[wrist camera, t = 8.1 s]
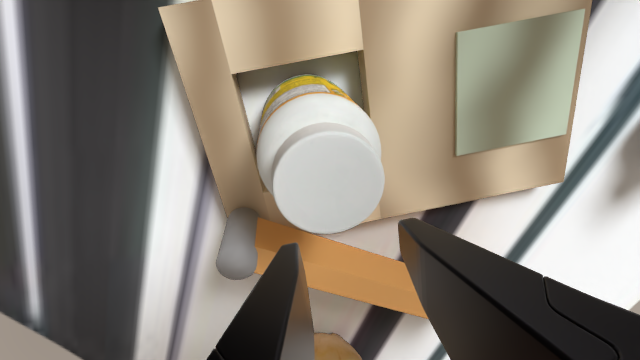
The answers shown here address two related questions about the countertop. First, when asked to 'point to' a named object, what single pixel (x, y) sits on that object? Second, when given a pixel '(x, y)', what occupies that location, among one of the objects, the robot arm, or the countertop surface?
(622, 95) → the countertop surface
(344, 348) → the onion
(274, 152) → the supplement bottle
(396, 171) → the socket board
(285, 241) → the clip bar
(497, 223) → the countertop surface
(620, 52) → the countertop surface
